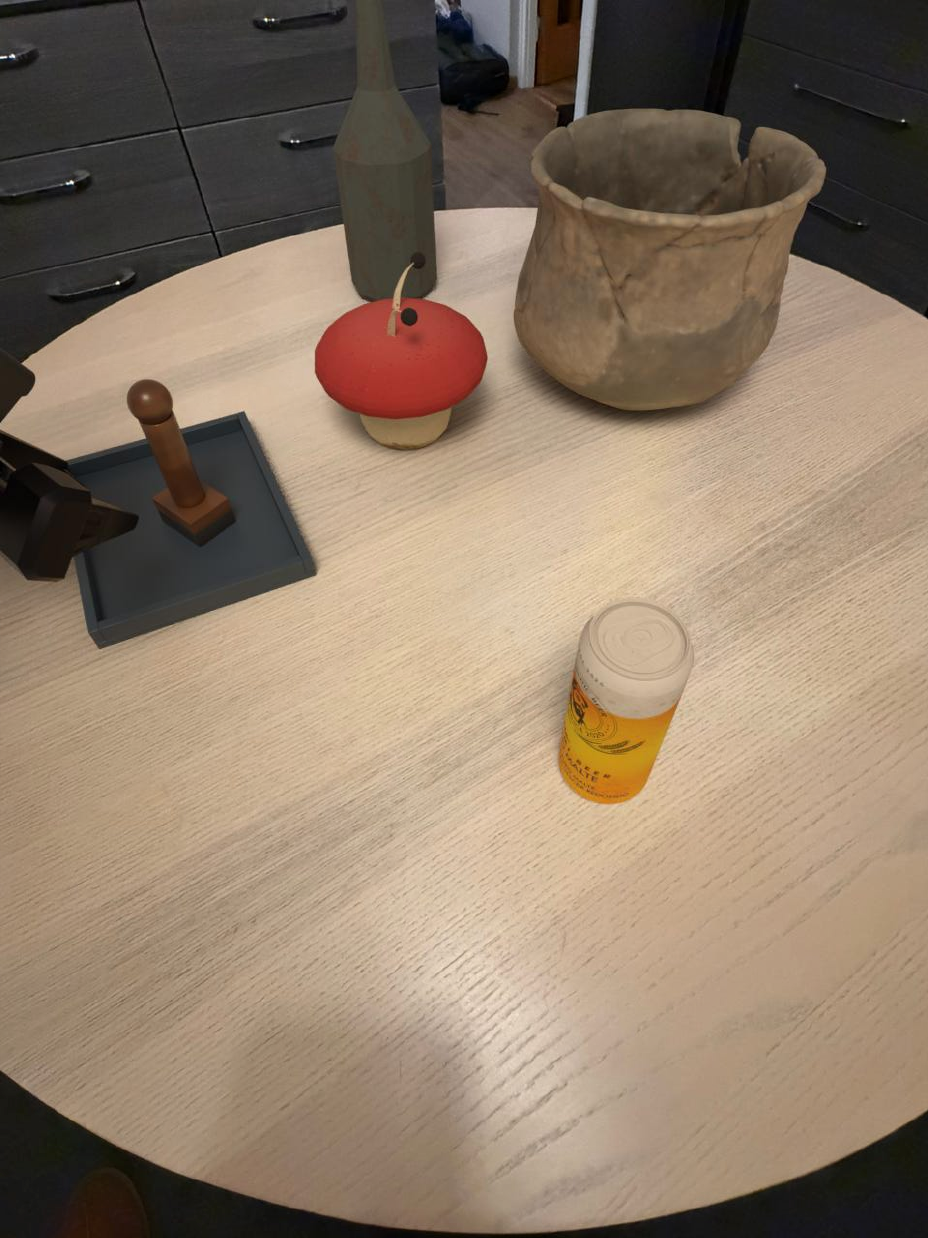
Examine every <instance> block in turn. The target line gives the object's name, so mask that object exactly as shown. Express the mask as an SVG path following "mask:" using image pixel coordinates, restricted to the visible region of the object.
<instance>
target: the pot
mask: <svg viewBox="0 0 928 1238" xmlns="http://www.w3.org/2000/svg"><path fill="white" fill-rule="evenodd" d="M741 128H742V123H741V121H740V120H739V119H737V118H735V117H730V116H724V115H721V114H718V113H712V112H708V111H704V110H698V109H673V110H666V109H663V108H625V109H613V110H612V109H611V110H604V111H599V112H596V113H590V114H587V115H583V116H581V117H579V118H576V119H575V120H573V121H572V122H570V123H568V125H567V126H559V127H556V128H555V129H553V130H551V131H550V132H548V133H547V134H546V135H545V136H544V137H543V139H542V140H541V141H540V142H539V143H538V144H537V146H536V147H535V148H534V149H533V151H532V152H531V154H530V159H531V161H530V166H529V168H530V174H531V176H532V177H533V179H534V180H535V181H536V184H537V188H538V189H537V192H538V194H537V196H538V197H537V209H536V218H535V224H534V228H533V232H532V235H531V237H530V241H529V244H528V248H527V250H526V254H525V258H524V261H523V262H522V266H521V269H520V271H519V275H518V279H517V286H516V291H515V299H514V310H513V323H514V328H515V332H516V336H517V339H518V341H519V343H520V345H521V347H522V348H523V349H524V351H526V353H527V354H528V355H529V357H530V358H531V359H532V361H534V363H535V364H536V365H537V366H538V367H540V368H541V369H542V370H543V371H544V372H545V373H547V375H549V376H550V377H551V378H553V379H554V380H556V381H557V382H558V383H560V384H561V385H562V386H564V387H565V388H567V389H569V390H571V391H572V392H574V393H576V394H578V395H580V396H583V397H585V398H588V399H591V400H593V401H596V402H598V403H600V404H602V405H606V406H609V407H614V408H616V409H620V410H626V411H655V410H663V409H671V408H680V407H685V406H691V405H695V404H699V403H702V402H704V401H707V400H708V399H710V398H712V397H713V396H715V395H716V394H718V393H720V392H721V391H722V390H724V389H726V388H727V387H729V386H730V385H731V384H733V383H734V382H735V381H736V380H738V379H739V378H740V377H741V376H742V375H743V374H744V373H745V372H746V371H747V370H748V369H749V368H750V367H751V366H752V365H754V363H755V362H756V361H757V360H758V359H759V358H760V357H761V356H762V354H763V353H764V352H765V351H766V350H767V348H768V347H769V345H770V342H771V340H772V338H773V336H774V334H775V332H776V330H777V326H778V321H779V316H780V311H781V303H782V300H781V299H782V294H783V291H784V284H785V279H786V276H787V273H788V270H789V260H790V254H791V248H792V244H793V242H794V236H795V233H796V231H797V229H798V227H799V224H800V222H801V220H802V219H803V217H804V215H805V212H806V209H807V206H808V202H809V201H810V200H811V199H813V198H814V197H816V196H817V195H818V194H819V193H820V192H821V190H822V187H823V186H824V183H825V178H826V173H827V167H826V166H825V162H824V160H822V159H821V158H819V156H818V154H817V152H816V151H815V149H813V148H812V147H811V146H809V145H808V144H807V143H806V142H804V141H803V140H800V139H799V138H798V137H797V136H795V135H792V134H790V133H788V132H786V131H784V130H779V129H775V128H771V127H767V126H766V127H765V126H758V127H756V128H755V130H754V132H753V135H752V137H751V139H750V142H749V145H748V152H747V157H745V158H744V160H743V161H741V155H740V153H739V151H738V144H739V140H740V132H741Z"/></svg>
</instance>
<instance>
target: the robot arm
mask: <svg viewBox="0 0 928 1238" xmlns="http://www.w3.org/2000/svg"><path fill="white" fill-rule="evenodd" d="M35 384H36V374H35V373H34V372H33V370H31V369H29V368H28V367H27V366H25V365H24V364H23V363H22V362H21V361H18V360H17V359H16V358H15V357H14V356H12V355H11V354H10V353H8V352H7V351H5V350H4V349H3V348H1V347H0V424H1V423H2V422H3V421H4V420H5V418H6V417H7V416H8V414H9V413H10V412H11V410H13V408H14V407H15V406H16V405H17V403H18V402H19V401H20V399H21V398H23V397H27V396H28V395H29V394H30V392H31V391H32V390H33V388H34V387H35ZM67 467H68V462H66V460H65V459H63V458H61V457H59V456H57V455H55V454H53V453H51V452H50V451H49V452H48V451H47V450H44V449H42V448H40V447H38V446H36V445H34V444H31V443H29V442H28V441H26V440H23V439H21V438H19V437H17V436H15V435H13V434H10V433H9V432H6V431H5V430H2V429H0V557H1V558H2V559H3V560H4V561H5V562H6V563H7V564H9V566H11V567H12V568H13V569H14V570H15V571H16V572H18V573H19V575H21V576H22V577H23V579H25V580H26V581H29V582H30V581H31V582H47V583H48V582H49V583H50V582H51V583H57V582H60V581H62V580H64V579H65V577H66V576H67V574H68V570H69V568H70V566H71V562H72V560H73V559H74V557H75V556H76V555H78V554H80V553H82V552H84V551H86V550H88V549H90V548H92V547H94V546H96V545H99V544H101V543H103V542H106V541H108V540H111V539H113V538H115V537H118V536H120V535H122V534H125V533H127V532H130V531H132V530H134V529H135V528H136V525H137V523H138V520H139V516H138V515H137V514H135V513H133V512H130V511H127V510H125V509H122V508H119V507H116V506H114V505H111V504H108V503H105V502H102V501H99V500H96V499H93V498H91V493H90V491H89V489H88V488H87V487H86V486H85V485H84V484H83V483H82V482H80V481H79V480H78V479H76V478H75V477H74V476H72V475H71V474H70V473H69V472H67V471H66V470H67Z"/></svg>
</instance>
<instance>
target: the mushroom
mask: <svg viewBox="0 0 928 1238" xmlns="http://www.w3.org/2000/svg"><path fill="white" fill-rule="evenodd" d="M425 261H426V259H425V256H424V255H423V254H422V253H420V252H415V253H414V254H412V255H411V259H410V262H411V265H410V266H409V267H408V268H406V270H405V271H404V273H403V274H402V276H401V278H400V280H399V282H398V285H397V287H396V289H395V292H394V297H393V298H392V299H383V300H379V301H375V302H367V303H364V304H362V305H359V306H357V307H355V308H353V309H351V310H348V311H346V312H345V313H343V314H342V315H341V316H340V317H338V318H337V319H336V320H334V321H333V322H332V323H331V324H330V325H329V326H327V328H326V329H325V330H324V332H323V334H322V335H321V337H320V339H319V341H318V343H317V345H316V347H315V349H314V374H315V378H316V379H317V380H318V382H319V384H320V386H321V387H322V389H323V390H324V393H325V394H326V395H327V397H329V398H330V399H332V400H333V401H335V402H336V403H337V404H338V405H340V406H341V407H343V408H344V409H346V410H348V411H352V412H355V413H357V414H359V417H360V421H361V424H362V425H363V428H364V429H365V431H366V433H367V435H369V436H370V438H372V439H374V441H376V442H378V443H379V444H380V445H381V446H383V447H386V448H389V449H391V450H396V451H397V450H398V451H414V450H418V449H422V448H424V447H428V446H430V445H431V444H432V443H434V442H436V441H437V440H438V438H440V437H441V435H442V434H443V433H444V432H445V431H446V430H447V428H448V425H449V422H450V418H451V413H452V407H454V406H456V405H457V404H459V403H461V402H463V401H465V400H466V399H467V398H468V397H469V396H470V395H471V394H472V393H473V391H475V389H476V388H477V387H478V386H479V385H480V383H482V380H483V377H484V373H485V371H486V368H487V364H488V359H489V357H488V352H487V347H486V343H485V339H484V336H483V335H482V332H481V331H480V330H479V329H478V328H477V326H475V324H473V322H472V321H471V320H470V318H468V317H467V316H466V315H464V314H462V313H461V312H459V311H457V310H455V309H454V308H452V307H450V306H448V305H446V304H443V303H440V302H436V301H432V300H429V299H426V298H422V299H415V298H401V291H402V287H403V284H404V280H405V277H406V275H407V272H408V270H409V269H410V267H411V266H413V267H414V268H417V269H420V268H422V267H423V266H424V265H425Z"/></svg>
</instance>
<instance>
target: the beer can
mask: <svg viewBox="0 0 928 1238" xmlns="http://www.w3.org/2000/svg"><path fill="white" fill-rule="evenodd" d="M694 665H695V650H694V645H693V642H692V637H691V633H690V630H689V628H688V625H687V624H686V623H685V621H684V619H683V618H682V617H681V616H680V614H678V613H677V612H675V610H673V609H672V608H670V607H669V606H667V605H665V604H664V603H661V602H659V601H656V600H653V599H651V598H650V599H649V598H644V597H638V596H637V597H636V596H635V597H634V596H632V597H624V598H623V597H622V598H617V599H615V600H612V601H610V602H608V603H606V604H604V605H602V607H600V608H598V610H597V611H596V612H595V613H594V615H593V616H591V618H590V619H588V621H587V622H586V623H585V625H584V626H583V628H582V630H581V632H580V635H579V640H578V646H577V651H576V657H575V663H574V669H573V673H572V679H571V685H570V689H569V690H570V691H569V696H568V701H567V707H566V711H565V718H564V722H563V729H562V734H561V740H560V745H559V750H558V766H559V770H560V773H561V775H562V778H563V779H564V781H565V783H566V784H567V785H568V786H569V788H571V789H572V790H573V791H574V792H575V793H576V794H577V795H579V796H580V797H581V798H584V799H586V800H588V801H590V802H592V803H596V804H602V805H616V804H622V803H625V802H627V801H629V800H632V798H635V797H636V796H637V795H638V794H640V792H642V791H643V789H644V787H646V784H647V782H648V780H649V777H650V776H651V772H652V770H653V768H654V765H655V762H656V761H657V758H658V755H659V753H660V751H661V748H662V745H663V743H664V740H665V738H666V735H667V733H668V730H669V728H670V726H671V723H672V721H673V718H674V715H675V713H676V711H677V708H678V705H679V703H680V700H681V699H682V697H683V693H684V690H685V689H686V685H687V683H688V681H689V678H690V676H691V674H692V671H693V668H694Z"/></svg>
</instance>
